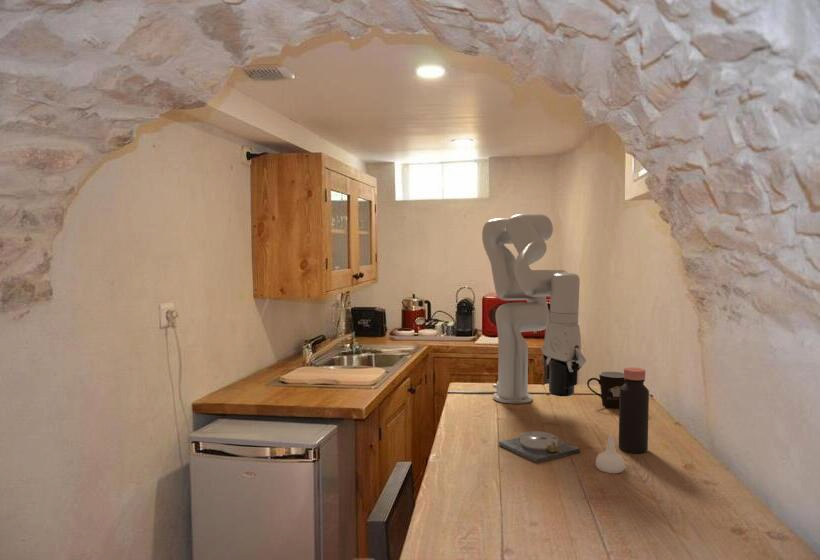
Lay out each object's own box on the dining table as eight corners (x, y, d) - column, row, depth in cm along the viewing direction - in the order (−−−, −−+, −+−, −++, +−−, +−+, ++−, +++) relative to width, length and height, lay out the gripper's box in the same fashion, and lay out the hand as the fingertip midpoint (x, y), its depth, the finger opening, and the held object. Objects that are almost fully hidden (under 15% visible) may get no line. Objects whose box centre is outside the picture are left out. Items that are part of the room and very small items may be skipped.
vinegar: (650, 447, 149) (652, 368, 148) (644, 455, 143) (646, 373, 142) (622, 442, 153) (623, 365, 151) (615, 450, 147) (616, 370, 146)
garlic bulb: (600, 476, 132) (602, 442, 131) (591, 463, 138) (593, 431, 137) (628, 476, 132) (630, 442, 131) (618, 463, 138) (620, 430, 137)
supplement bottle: (571, 390, 168) (573, 348, 167) (576, 397, 161) (577, 354, 160) (546, 389, 169) (548, 347, 167) (550, 396, 162) (551, 353, 161)
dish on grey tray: (498, 445, 151) (498, 433, 151) (540, 436, 158) (540, 425, 158) (536, 463, 139) (536, 450, 139) (579, 452, 146) (580, 440, 145)
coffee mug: (630, 404, 188) (630, 373, 188) (624, 411, 181) (625, 378, 180) (592, 399, 194) (593, 369, 194) (585, 405, 187) (586, 374, 186)
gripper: (531, 314, 168) (530, 376, 170) (577, 324, 153) (574, 392, 155) (551, 312, 172) (549, 373, 174) (598, 322, 157) (595, 388, 159)
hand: (561, 381), depth 165 cm, fingers closed on supplement bottle, 6 cm apart
